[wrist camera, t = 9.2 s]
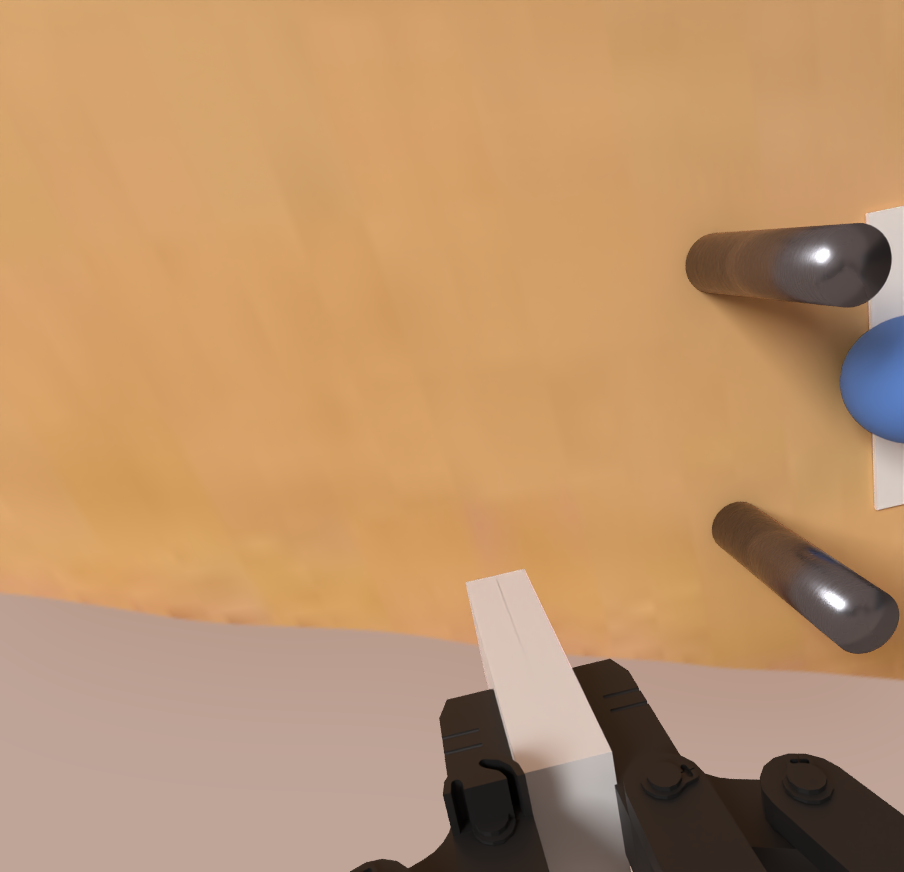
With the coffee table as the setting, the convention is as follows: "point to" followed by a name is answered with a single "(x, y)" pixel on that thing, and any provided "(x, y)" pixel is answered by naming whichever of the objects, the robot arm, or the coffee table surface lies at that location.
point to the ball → (877, 380)
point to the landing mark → (894, 464)
